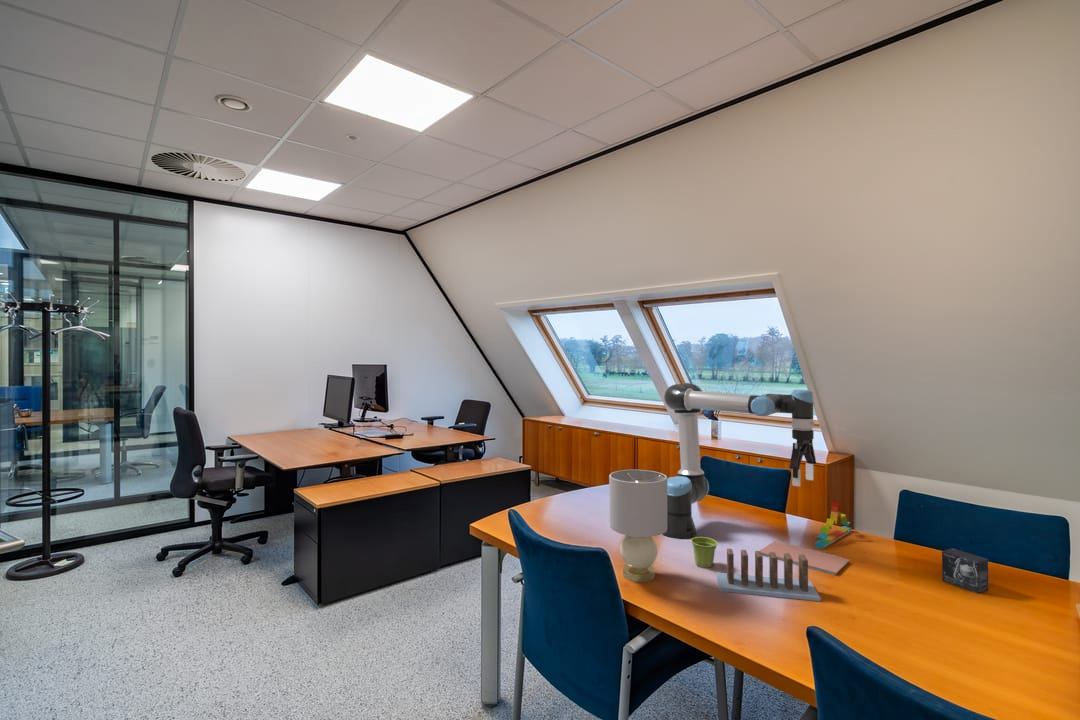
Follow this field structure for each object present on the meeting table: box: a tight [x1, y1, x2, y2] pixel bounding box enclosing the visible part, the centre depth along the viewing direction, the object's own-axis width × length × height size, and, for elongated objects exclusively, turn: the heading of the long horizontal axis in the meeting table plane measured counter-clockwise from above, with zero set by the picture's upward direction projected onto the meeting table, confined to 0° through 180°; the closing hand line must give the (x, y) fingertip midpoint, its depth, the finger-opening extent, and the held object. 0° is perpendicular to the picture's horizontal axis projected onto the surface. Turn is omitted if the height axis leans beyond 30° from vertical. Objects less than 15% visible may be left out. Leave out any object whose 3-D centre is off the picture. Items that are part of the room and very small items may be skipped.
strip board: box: [715, 572, 821, 602], centre depth 169 cm, size 30×12×1 cm, turn 76°
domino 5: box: [783, 553, 794, 590], centre depth 167 cm, size 2×5×10 cm, turn 166°
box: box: [941, 548, 990, 594], centre depth 169 cm, size 11×7×10 cm, turn 23°
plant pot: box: [690, 536, 718, 569], centre depth 188 cm, size 9×9×9 cm
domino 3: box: [754, 550, 764, 587], centre depth 169 cm, size 2×5×10 cm, turn 166°
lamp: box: [608, 469, 668, 583], centre depth 179 cm, size 20×20×35 cm
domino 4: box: [768, 552, 779, 589], centre depth 168 cm, size 2×5×10 cm, turn 166°
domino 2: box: [740, 549, 749, 586], centre depth 171 cm, size 2×5×10 cm, turn 166°
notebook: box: [759, 540, 851, 576], centre depth 193 cm, size 27×17×2 cm, turn 44°
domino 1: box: [726, 548, 735, 584], centre depth 172 cm, size 2×5×10 cm, turn 166°
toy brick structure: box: [814, 501, 852, 550], centre depth 213 cm, size 30×3×15 cm, turn 130°
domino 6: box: [798, 554, 809, 592], centre depth 166 cm, size 2×5×10 cm, turn 166°
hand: (803, 482), depth 200 cm, fingers open, 13 cm apart
